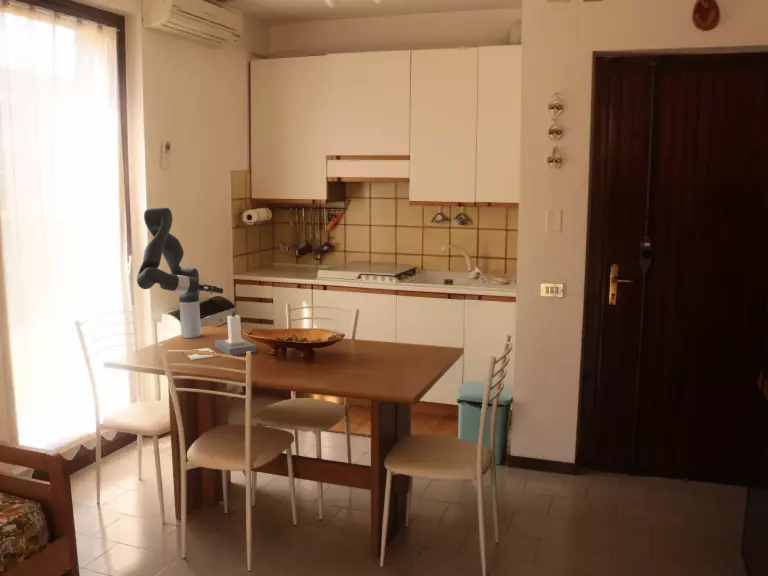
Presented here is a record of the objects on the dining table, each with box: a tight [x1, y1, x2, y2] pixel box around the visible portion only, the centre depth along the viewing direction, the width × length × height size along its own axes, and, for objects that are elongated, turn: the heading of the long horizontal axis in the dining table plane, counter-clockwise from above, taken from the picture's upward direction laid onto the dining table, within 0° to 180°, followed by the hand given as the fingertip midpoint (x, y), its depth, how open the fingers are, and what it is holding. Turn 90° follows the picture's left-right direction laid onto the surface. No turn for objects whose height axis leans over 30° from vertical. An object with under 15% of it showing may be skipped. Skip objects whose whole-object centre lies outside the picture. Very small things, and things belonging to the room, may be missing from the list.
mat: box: [187, 347, 217, 361], centre depth 338 cm, size 16×12×1 cm
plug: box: [225, 310, 245, 345], centre depth 345 cm, size 7×7×18 cm
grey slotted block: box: [214, 337, 257, 356], centre depth 346 cm, size 20×12×4 cm, turn 30°
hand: (217, 291), depth 343 cm, fingers open, 8 cm apart
